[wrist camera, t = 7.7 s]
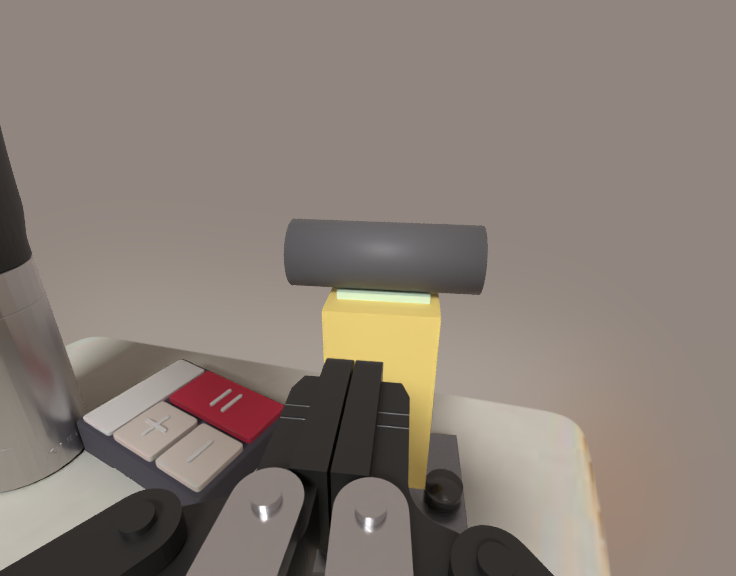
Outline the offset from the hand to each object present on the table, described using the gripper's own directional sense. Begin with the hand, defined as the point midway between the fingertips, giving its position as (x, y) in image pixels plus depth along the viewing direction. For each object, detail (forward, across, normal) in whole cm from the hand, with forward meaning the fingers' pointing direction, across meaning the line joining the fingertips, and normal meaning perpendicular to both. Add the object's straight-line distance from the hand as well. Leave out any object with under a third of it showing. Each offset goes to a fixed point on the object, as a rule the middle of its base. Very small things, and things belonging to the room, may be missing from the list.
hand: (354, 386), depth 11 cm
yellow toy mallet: (+11, 0, +17) cm, 20 cm away
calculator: (+17, +17, +22) cm, 33 cm away
